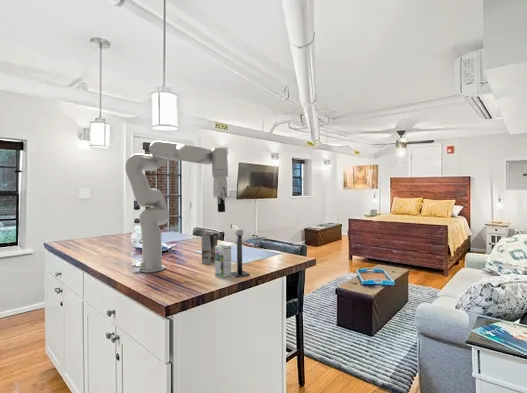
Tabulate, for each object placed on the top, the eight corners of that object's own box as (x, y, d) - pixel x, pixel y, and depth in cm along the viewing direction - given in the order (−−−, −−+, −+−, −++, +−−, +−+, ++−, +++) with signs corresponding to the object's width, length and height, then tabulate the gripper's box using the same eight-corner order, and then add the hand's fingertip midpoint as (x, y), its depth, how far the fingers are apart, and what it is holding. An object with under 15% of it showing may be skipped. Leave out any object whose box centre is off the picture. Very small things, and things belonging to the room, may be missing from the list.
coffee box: (212, 264, 173) (212, 235, 172) (201, 264, 174) (201, 234, 174) (218, 260, 182) (217, 232, 181) (207, 260, 183) (207, 232, 182)
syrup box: (214, 276, 150) (214, 245, 150) (224, 273, 154) (224, 244, 154) (221, 278, 146) (221, 247, 146) (231, 275, 150) (231, 245, 150)
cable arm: (243, 235, 150) (243, 230, 150) (236, 235, 149) (235, 230, 149) (236, 228, 176) (236, 223, 176) (229, 228, 175) (229, 223, 175)
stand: (236, 277, 147) (235, 237, 146) (230, 274, 153) (229, 235, 152) (249, 275, 150) (249, 235, 150) (243, 272, 156) (242, 233, 156)
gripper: (209, 174, 157) (210, 211, 158) (216, 173, 144) (217, 213, 144) (223, 174, 160) (224, 210, 161) (232, 173, 147) (233, 212, 147)
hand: (221, 211), depth 153 cm, fingers closed
